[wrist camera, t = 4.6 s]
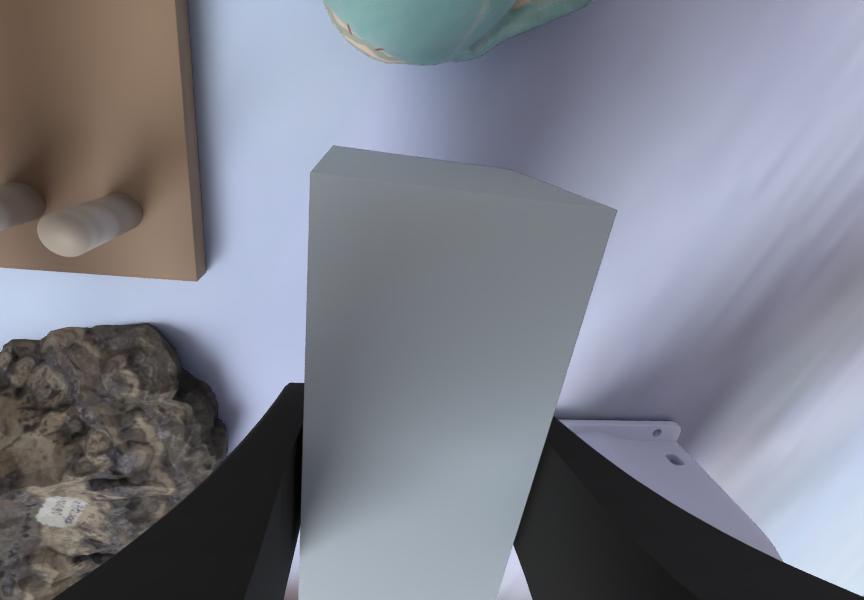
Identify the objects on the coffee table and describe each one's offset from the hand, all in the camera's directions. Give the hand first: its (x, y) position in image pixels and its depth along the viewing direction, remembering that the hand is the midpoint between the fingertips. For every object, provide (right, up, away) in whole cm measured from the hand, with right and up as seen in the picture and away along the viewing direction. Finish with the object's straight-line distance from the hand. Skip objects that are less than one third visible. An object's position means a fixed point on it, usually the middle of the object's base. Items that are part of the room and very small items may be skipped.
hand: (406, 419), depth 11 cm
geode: (-17, -5, +9) cm, 20 cm away
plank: (0, +1, +2) cm, 2 cm away
